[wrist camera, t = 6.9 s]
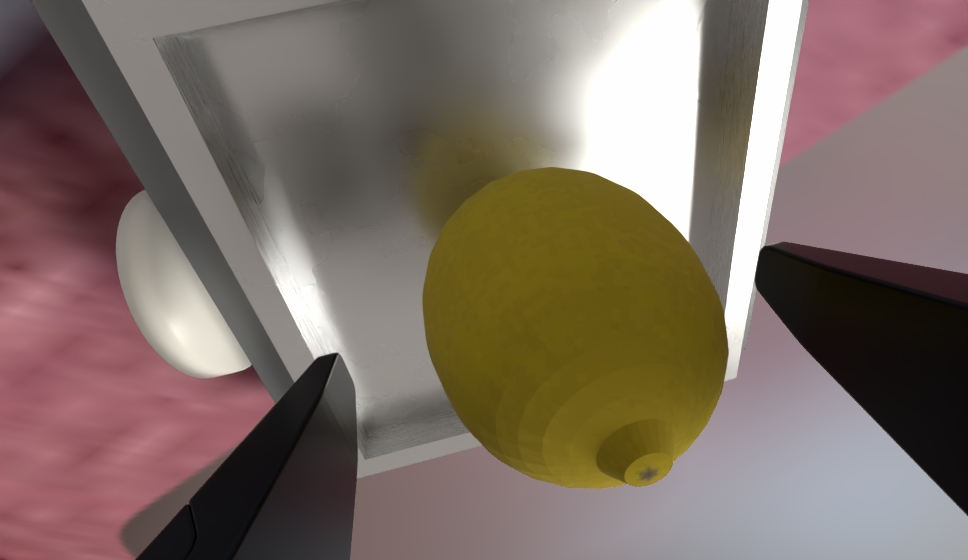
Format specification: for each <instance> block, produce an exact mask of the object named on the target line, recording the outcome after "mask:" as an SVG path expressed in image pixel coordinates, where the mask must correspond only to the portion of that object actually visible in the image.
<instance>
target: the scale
mask: <svg viewBox="0 0 968 560" xmlns="http://www.w3.org/2000/svg"><path fill="white" fill-rule="evenodd" d="M30 1H31V3H32V4H33V6H34V8H35V9H36V11H37V13H38V14H39V16H40V18H41V19H42V21H43V22H44V24H45V26H46V27H47V29H48V31H49V32H50V34H51V36H52V37H53V39H54V41H55V42H56V44H57V45H58V47H59V49H60V50H61V52H62V54H63V55H64V57H65V59H66V60H67V62H68V64H69V65H70V67H71V68H72V70H73V72H74V73H75V75H76V77H77V78H78V80H79V82H80V83H81V85H82V87H83V88H84V90H85V91H86V93H87V95H88V96H89V98H90V100H91V101H92V103H93V105H94V106H95V108H96V110H97V111H98V113H99V114H100V116H101V118H102V119H103V121H104V123H105V124H106V126H107V128H108V129H109V131H110V132H111V134H112V136H113V137H114V139H115V141H116V142H117V144H118V146H119V147H120V149H121V151H122V152H123V154H124V155H125V157H126V159H127V160H128V162H129V164H130V165H131V167H132V169H133V170H134V172H135V174H136V175H137V177H138V178H139V180H140V182H141V183H142V185H143V187H144V188H145V190H143V191H141V192H139V193H137V194H136V195H135V196H134V197H133V198H132V199H131V200H130V201H129V203H128V204H127V205H126V207H125V209H124V211H123V213H122V215H121V218H120V221H119V225H118V230H117V237H116V259H117V269H118V274H119V279H120V284H121V287H122V290H123V294H124V297H125V300H126V303H127V305H128V307H129V310H130V312H131V314H132V317H133V318H134V320H135V322H136V324H137V326H138V328H139V330H140V331H141V333H142V334H143V336H144V337H145V338H146V340H147V341H148V343H149V344H150V345H151V346H152V348H153V349H154V350H155V351H156V352H157V354H159V355H160V356H161V357H162V358H163V359H164V360H165V361H166V362H167V363H168V364H170V365H171V366H172V367H174V368H175V369H176V370H178V371H180V372H182V373H184V374H186V375H189V376H192V377H195V378H202V379H208V378H214V377H218V376H222V375H227V374H231V373H235V372H238V371H242V370H245V369H246V368H248V367H250V366H251V365H252V366H253V367H254V369H255V371H256V372H257V374H258V375H259V377H260V379H261V380H262V382H263V384H264V385H265V387H266V389H267V390H268V392H269V394H270V395H271V397H272V398H273V400H274V402H275V403H277V402H278V401H279V399H280V398H281V397H282V396H283V395H284V394H285V393H286V392H287V390H288V389H289V388H290V387H291V386H292V385H293V384H294V381H293V379H292V377H291V376H290V374H289V372H288V370H287V368H286V367H285V365H284V363H283V361H282V359H281V358H280V356H279V354H278V352H277V350H276V349H275V347H274V345H273V343H272V341H271V340H270V338H269V336H268V334H267V332H266V331H265V329H264V327H263V325H262V323H261V322H260V320H259V318H258V316H257V314H256V313H255V311H254V309H253V307H252V305H251V304H250V302H249V300H248V298H247V296H246V295H245V293H244V291H243V289H242V287H241V286H240V284H239V282H238V280H237V278H236V277H235V275H234V273H233V271H232V270H231V268H230V266H229V264H228V262H227V261H226V259H225V257H224V255H223V253H222V252H221V250H220V248H219V246H218V244H217V243H216V241H215V239H214V237H213V235H212V234H211V232H210V230H209V228H208V226H207V225H206V223H205V221H204V219H203V217H202V216H201V214H200V212H199V210H198V208H197V207H196V205H195V203H194V201H193V199H192V198H191V196H190V194H189V192H188V190H187V189H186V187H185V185H184V183H183V181H182V180H181V178H180V176H179V174H178V172H177V171H176V169H175V167H174V165H173V164H172V162H171V160H170V158H169V156H168V155H167V153H166V151H165V149H164V147H163V146H162V144H161V142H160V140H159V138H158V137H157V135H156V133H155V131H154V129H153V128H152V126H151V124H150V122H149V120H148V119H147V117H146V115H145V113H144V111H143V110H142V108H141V106H140V104H139V102H138V101H137V99H136V97H135V95H134V93H133V92H132V90H131V88H130V86H129V84H128V83H127V81H126V79H125V77H124V75H123V74H122V72H121V70H120V68H119V66H118V65H117V63H116V61H115V59H114V58H113V56H112V54H111V52H110V50H109V49H108V47H107V45H106V43H105V41H104V40H103V38H102V36H101V34H100V32H99V31H98V29H97V27H96V25H95V23H94V22H93V20H92V18H91V16H90V14H89V13H88V11H87V9H86V7H85V5H84V4H83V2H82V0H30ZM808 3H809V0H802V4H801V10H800V16H799V21H798V27H797V33H796V38H795V44H794V50H793V56H792V61H791V67H790V73H789V78H788V84H787V90H786V96H785V101H784V107H783V113H782V119H781V124H780V130H779V136H778V141H777V147H776V153H775V159H774V164H773V170H772V176H771V181H770V187H769V193H768V199H767V204H766V210H765V216H764V221H763V227H762V233H761V239H760V244H759V250H758V256H759V252H760V250H761V248H762V247H764V244H765V240H766V234H767V228H768V223H769V217H770V212H771V206H772V201H773V195H774V190H775V184H776V179H777V173H778V168H779V162H780V157H781V151H782V146H783V140H784V135H785V129H786V124H787V118H788V113H789V107H790V102H791V96H792V91H793V85H794V80H795V74H796V69H797V63H798V58H799V52H800V47H801V41H802V36H803V30H804V25H805V19H806V14H807V8H808ZM758 256H757V261H758ZM756 267H757V262H756ZM756 267H755V273H756ZM755 273H754V279H753V284H752V290H751V296H750V302H749V307H748V313H747V319H746V324H745V330H744V336H743V342H742V347H741V350H744V349H746V344H747V339H748V333H749V328H750V322H751V317H752V311H753V305H754V300H755V294H756V289H757V288H756V286H755Z"/></svg>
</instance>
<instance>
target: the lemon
mask: <svg viewBox="0 0 968 560" xmlns="http://www.w3.org/2000/svg"><path fill="white" fill-rule="evenodd" d="M422 306H423V317H424V327H425V336H426V342H427V348H428V351H429V355H430V358H431V361H432V363H433V366H434V368H435V371H436V373H437V375H438V378H439V380H440V382H441V384H442V386H443V389H444V391H445V393H446V395H447V397H448V399H449V401H450V403H451V405H452V407H453V409H454V411H455V412H456V414H457V415H458V417H459V419H460V420H461V422H462V423H463V424H464V425H465V427H466V428H467V429H468V430H469V431H470V433H471V434H472V435H473V436H474V437H475V438H476V439H477V440H478V441H479V442H480V443H481V444H482V445H483V446H484V447H485V448H486V449H487V450H488V451H489V452H490V453H491V454H492V455H494V456H495V457H496V458H497V459H499V460H500V461H501V462H503V463H505V464H507V465H508V466H510V467H512V468H514V469H516V470H518V471H519V472H521V473H523V474H525V475H527V476H530V477H532V478H534V479H537V480H541V481H545V482H549V483H553V484H557V485H561V486H565V487H569V488H598V489H599V488H600V489H601V488H608V487H616V486H621V485H625V484H629V485H632V486H646V485H650V484H653V483H655V482H657V481H658V480H660V479H662V478H663V477H664V476H665V475H667V473H668V472H669V471H670V470H671V467H672V465H673V461H675V460H676V459H677V458H678V457H679V456H680V455H681V454H683V453H684V452H685V451H686V450H687V449H688V448H689V447H690V446H691V444H692V443H693V442H694V441H695V439H696V438H697V437H698V436H699V434H700V433H701V432H702V430H703V429H704V427H705V426H706V425H707V423H708V421H709V419H710V417H711V415H712V413H713V411H714V409H715V407H716V405H717V402H718V400H719V397H720V395H721V392H722V388H723V383H724V379H725V374H726V369H727V362H728V356H729V348H728V338H727V330H726V323H725V315H724V310H723V307H722V304H721V301H720V298H719V295H718V293H717V291H716V289H715V287H714V285H713V283H712V282H711V280H710V278H709V276H708V274H707V272H706V270H705V268H704V267H703V265H702V263H701V261H700V259H699V257H698V256H697V254H696V253H695V251H694V249H693V248H692V246H691V245H690V243H689V242H688V241H687V240H686V238H685V237H684V236H683V234H682V233H681V232H680V231H679V230H678V229H677V228H676V227H675V226H674V225H673V223H671V222H670V221H669V220H668V219H667V218H666V217H665V216H664V215H663V214H662V213H660V212H659V211H658V210H657V209H656V208H655V207H654V206H653V205H652V204H651V203H649V202H648V201H647V200H646V199H645V198H643V197H642V196H641V195H639V194H638V193H636V192H635V191H633V190H631V189H629V188H627V187H625V186H622V185H620V184H618V183H616V182H613V181H611V180H609V179H606V178H604V177H602V176H600V175H597V174H595V173H592V172H588V171H582V170H574V169H566V168H558V167H545V168H538V169H530V170H522V171H518V172H515V173H513V174H510V175H508V176H505V177H503V178H500V179H498V180H495V181H493V182H490V183H489V184H488V185H486V186H485V187H483V188H482V189H481V190H479V191H478V192H476V193H475V194H473V195H472V196H471V197H469V198H468V199H466V200H465V201H464V202H463V204H462V205H461V206H460V207H459V208H458V209H457V210H456V212H455V213H454V214H453V215H452V216H451V217H450V219H449V220H448V221H447V222H446V223H445V225H444V227H443V229H442V231H441V233H440V235H439V237H438V239H437V241H436V243H435V245H434V247H433V249H432V251H431V253H430V257H429V261H428V266H427V271H426V276H425V282H424V287H423V295H422Z"/></svg>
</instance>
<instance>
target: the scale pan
mask: <svg viewBox="0 0 968 560" xmlns="http://www.w3.org/2000/svg"><path fill="white" fill-rule="evenodd" d="M82 2H83V4H84V5H85V7H86V9H87V11H88V13H89V14H90V16H91V18H92V20H93V22H94V23H95V25H96V27H97V29H98V31H99V32H100V34H101V36H102V38H103V40H104V41H105V43H106V45H107V47H108V49H109V50H110V52H111V54H112V56H113V58H114V59H115V61H116V63H117V65H118V66H119V68H120V70H121V72H122V74H123V75H124V77H125V79H126V81H127V83H128V84H129V86H130V88H131V90H132V92H133V93H134V95H135V97H136V99H137V101H138V102H139V104H140V106H141V108H142V110H143V111H144V113H145V115H146V117H147V119H148V120H149V122H150V124H151V126H152V128H153V129H154V131H155V133H156V135H157V137H158V138H159V140H160V142H161V144H162V146H163V147H164V149H165V151H166V153H167V155H168V156H169V158H170V160H171V162H172V164H173V165H174V167H175V169H176V171H177V172H178V174H179V176H180V178H181V180H182V181H183V183H184V185H185V187H186V189H187V190H188V192H189V194H190V196H191V198H192V199H193V201H194V203H195V205H196V207H197V208H198V210H199V212H200V214H201V216H202V217H203V219H204V221H205V223H206V225H207V226H208V228H209V230H210V232H211V234H212V235H213V237H214V239H215V241H216V243H217V244H218V246H219V248H220V250H221V252H222V253H223V255H224V257H225V259H226V261H227V262H228V264H229V266H230V268H231V270H232V271H233V273H234V275H235V277H236V278H237V280H238V282H239V284H240V286H241V287H242V289H243V291H244V293H245V295H246V296H247V298H248V300H249V302H250V304H251V305H252V307H253V309H254V311H255V313H256V314H257V316H258V318H259V320H260V322H261V323H262V325H263V327H264V329H265V331H266V332H267V334H268V336H269V338H270V340H271V341H272V343H273V345H274V347H275V349H276V350H277V352H278V354H279V356H280V358H281V359H282V361H283V363H284V365H285V367H286V368H287V370H288V372H289V374H290V376H291V377H292V379H293V381H294V383H295V382H296V380H297V379H298V378H299V377H300V376H301V375H302V374H303V373H304V371H305V370H306V369H307V368H308V367H309V366H310V365H311V364H312V362H313V361H314V360H315V359H316V358H317V357H319V356H322V355H327V354H331V353H335V352H337V353H339V354H340V355H341V356H342V358H343V360H344V362H345V364H346V367H347V369H348V371H349V373H350V375H351V377H352V380H353V382H354V386H355V391H356V415H357V442H358V468H357V478H361V477H365V476H369V475H372V474H376V473H380V472H384V471H387V470H391V469H395V468H398V467H402V466H406V465H410V464H414V463H417V462H421V461H425V460H429V459H432V458H436V457H440V456H444V455H447V454H451V453H455V452H459V451H463V450H466V449H470V448H474V447H478V446H481V445H482V444H481V443H480V442H479V441H478V440H477V439H476V438H475V437H474V436H473V435H472V434H471V433H470V431H469V430H468V429H467V428H466V427H465V425H464V424H463V423H462V422H461V420H460V419H459V417H458V415H457V414H456V412H455V411H454V409H453V407H452V405H451V403H450V401H449V399H448V397H447V395H446V393H445V391H444V389H443V386H442V384H441V382H440V380H439V378H438V375H437V373H436V371H435V368H434V366H433V363H432V361H431V358H430V355H429V351H428V348H427V342H426V336H425V327H424V317H423V306H422V295H423V287H424V282H425V276H426V271H427V266H428V261H429V257H430V253H431V251H432V249H433V247H434V245H435V243H436V241H437V239H438V237H439V235H440V233H441V231H442V229H443V227H444V225H445V223H446V222H447V221H448V220H449V219H450V217H451V216H452V215H453V214H454V213H455V212H456V210H457V209H458V208H459V207H460V206H461V205H462V204H463V202H464V201H465V200H466V199H468V198H469V197H471V196H472V195H473V194H475V193H476V192H478V191H479V190H481V189H482V188H483V187H485V186H486V185H488V184H489V183H490V182H493V181H495V180H498V179H500V178H503V177H505V176H508V175H510V174H513V173H515V172H518V171H522V170H530V169H538V168H545V167H558V168H566V169H574V170H582V171H588V172H592V173H595V174H597V175H600V176H602V177H604V178H606V179H609V180H611V181H613V182H616V183H618V184H620V185H622V186H625V187H627V188H629V189H631V190H633V191H635V192H636V193H638V194H639V195H641V196H642V197H643V198H645V199H646V200H647V201H648V202H649V203H651V204H652V205H653V206H654V207H655V208H656V209H657V210H658V211H659V212H660V213H662V214H663V215H664V216H665V217H666V218H667V219H668V220H669V221H670V222H671V223H673V225H674V226H675V227H676V228H677V229H678V230H679V231H680V232H681V233H682V234H683V236H684V237H685V238H686V240H687V241H688V242H689V243H690V245H691V246H692V248H693V249H694V251H695V253H696V254H697V256H698V257H699V259H700V261H701V263H702V265H703V267H704V268H705V270H706V272H707V274H708V276H709V278H710V280H711V282H712V283H713V285H714V287H715V289H716V291H717V293H718V295H719V298H720V301H721V304H722V307H723V310H724V315H725V323H726V330H727V338H728V348H729V356H728V362H727V369H726V374H725V379H724V381H726V380H730V379H734V378H736V376H737V370H738V364H739V359H740V353H741V347H742V342H743V336H744V330H745V324H746V319H747V313H748V307H749V302H750V296H751V290H752V284H753V279H754V273H755V267H756V262H757V256H758V250H759V244H760V239H761V233H762V227H763V221H764V216H765V210H766V204H767V199H768V193H769V187H770V181H771V176H772V170H773V164H774V159H775V153H776V147H777V141H778V136H779V130H780V124H781V119H782V113H783V107H784V101H785V96H786V90H787V84H788V78H789V73H790V67H791V61H792V56H793V50H794V44H795V38H796V33H797V27H798V21H799V16H800V10H801V4H802V0H82Z"/></svg>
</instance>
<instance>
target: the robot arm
mask: <svg viewBox="0 0 968 560" xmlns="http://www.w3.org/2000/svg"><path fill="white" fill-rule="evenodd" d="M755 286H756V288H757V290H758V291H759V292H760V294H761V295H762V296H763V298H764V299H765V300H766V302H767V303H768V304H769V305H770V307H771V308H772V309H773V310H774V312H775V313H776V314H777V315H778V317H779V318H780V319H781V320H782V322H783V323H784V324H785V325H786V327H787V328H788V329H789V330H790V332H791V333H792V334H793V335H794V337H795V338H796V339H797V340H798V341H799V343H800V344H801V345H802V346H803V347H804V348H805V349H806V350H807V351H808V352H809V353H810V355H811V356H812V357H813V358H814V359H815V360H816V361H817V362H818V363H820V365H821V366H822V367H823V368H824V369H825V370H826V371H827V372H828V373H829V374H830V375H831V376H832V377H833V378H834V379H835V380H836V381H837V382H838V383H839V384H840V385H841V386H842V387H843V388H844V390H845V391H846V392H847V393H848V394H849V395H850V396H851V397H852V398H853V399H854V400H855V401H856V402H857V403H858V404H859V405H860V406H861V407H862V408H863V409H864V410H865V411H866V412H867V413H868V414H869V415H870V416H871V417H872V418H873V419H874V420H875V421H876V422H877V423H878V424H879V425H880V426H881V427H882V428H883V430H884V431H885V432H886V433H887V434H889V436H890V437H891V438H892V439H893V440H894V441H895V442H896V443H897V444H898V445H899V446H900V447H901V448H902V449H903V450H904V451H905V452H906V453H907V454H908V455H909V456H910V457H911V458H912V459H913V460H914V461H915V462H916V463H917V464H918V465H919V466H920V468H921V469H922V470H923V471H924V472H926V474H927V475H928V476H929V477H930V478H931V479H932V480H933V481H934V482H935V483H936V484H937V485H938V486H939V487H940V488H941V489H942V490H943V491H944V492H945V493H946V494H947V495H948V496H949V497H950V498H951V499H952V500H953V501H954V502H955V503H956V505H957V506H959V508H960V509H961V510H962V511H963V512H964V513H965V514H966V515H967V516H968V274H964V273H958V272H953V271H946V270H942V269H936V268H930V267H924V266H919V265H913V264H908V263H902V262H896V261H891V260H885V259H879V258H874V257H868V256H862V255H857V254H851V253H845V252H839V251H834V250H829V249H823V248H816V247H812V246H805V245H800V244H795V243H789V242H778V243H774V244H770V245H766V246H764V247H762V248H761V250H760V252H759V256H758V261H757V267H756V273H755ZM357 468H358V442H357V415H356V391H355V386H354V382H353V380H352V377H351V375H350V373H349V371H348V369H347V367H346V364H345V362H344V360H343V358H342V356H341V355H340V354H339V353H337V352H335V353H331V354H327V355H322V356H319V357H317V358H316V359H315V360H314V361H313V362H312V364H311V365H310V366H309V367H308V368H307V369H306V370H305V371H304V373H303V374H302V375H301V376H300V377H299V378H298V379H297V380H296V382H295V383H294V384H293V385H292V386H291V387H290V388H289V389H288V390H287V392H286V393H285V394H284V395H283V396H282V397H281V398H280V399H279V401H278V402H277V403H276V404H275V405H274V406H273V407H272V408H271V410H270V411H269V412H268V413H267V414H266V415H265V416H264V417H263V418H262V420H261V421H260V422H259V423H258V424H257V425H256V426H255V427H254V429H253V430H252V431H251V432H250V433H249V434H248V435H247V436H246V438H245V439H244V440H243V441H242V442H241V443H240V444H239V445H238V446H237V448H236V449H235V450H234V451H233V452H232V453H231V455H229V457H228V458H227V459H226V460H225V461H224V462H223V463H222V464H221V466H220V467H219V468H218V469H217V470H216V471H215V472H214V473H213V474H212V476H211V477H210V478H209V479H208V480H207V481H206V482H205V483H204V485H203V486H202V487H201V488H200V489H199V490H198V491H197V492H196V493H195V495H194V496H193V497H192V498H191V499H190V501H189V504H190V505H188V504H187V505H185V506H184V507H183V508H182V509H181V510H180V511H179V513H178V514H177V515H176V516H175V517H174V518H173V519H172V520H171V521H170V522H169V524H168V525H167V526H166V527H165V528H164V529H163V530H162V531H161V532H160V533H159V534H158V536H157V537H156V538H155V539H154V540H153V541H152V542H151V543H150V544H149V545H148V546H147V548H146V549H145V550H144V551H143V552H142V553H141V554H140V555H139V556H138V557H137V558H136V559H135V560H350V552H351V541H352V528H353V517H354V506H355V494H356V482H357Z"/></svg>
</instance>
